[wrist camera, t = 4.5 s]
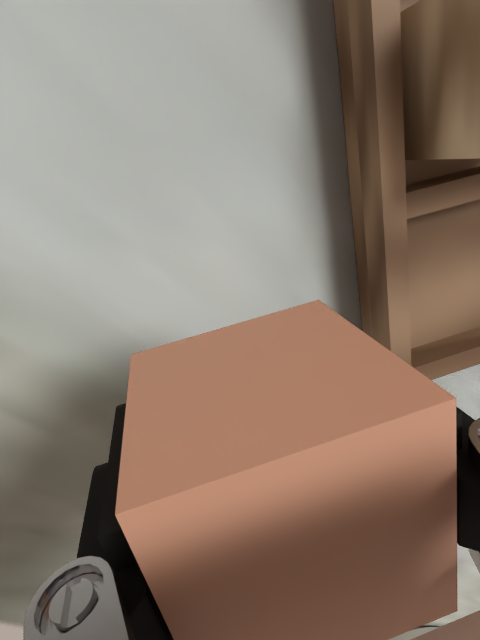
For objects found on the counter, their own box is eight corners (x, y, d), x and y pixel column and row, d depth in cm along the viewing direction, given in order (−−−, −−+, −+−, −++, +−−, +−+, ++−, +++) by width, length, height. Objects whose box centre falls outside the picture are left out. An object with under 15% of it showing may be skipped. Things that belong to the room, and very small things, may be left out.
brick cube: (340, 447, 12) (457, 611, 8) (184, 500, 12) (209, 714, 7) (318, 299, 10) (455, 397, 6) (130, 354, 10) (115, 515, 5)
